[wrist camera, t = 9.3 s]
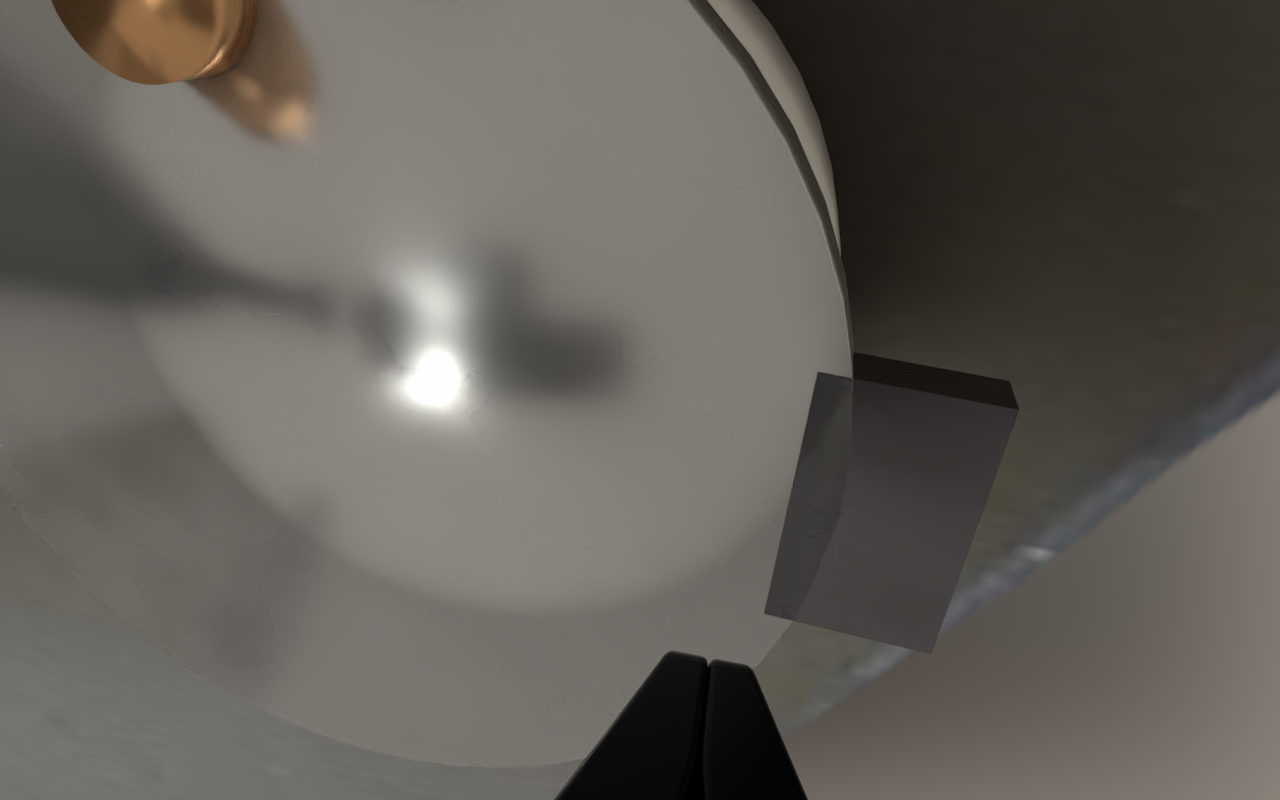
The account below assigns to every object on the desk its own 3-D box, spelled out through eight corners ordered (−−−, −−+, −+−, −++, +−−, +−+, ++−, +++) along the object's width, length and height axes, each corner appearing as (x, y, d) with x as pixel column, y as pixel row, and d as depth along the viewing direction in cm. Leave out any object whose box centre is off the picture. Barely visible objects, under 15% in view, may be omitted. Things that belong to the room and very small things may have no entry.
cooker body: (222, 534, 25) (65, 685, 20) (63, -357, 15) (-328, -521, 10) (755, 645, 23) (736, 845, 18) (962, -291, 13) (1053, -449, 8)
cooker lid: (71, 612, 18) (-12, 679, 17) (-192, -252, 11) (-386, -292, 9) (848, 827, 16) (845, 933, 14) (1176, -132, 8) (1255, -158, 7)
